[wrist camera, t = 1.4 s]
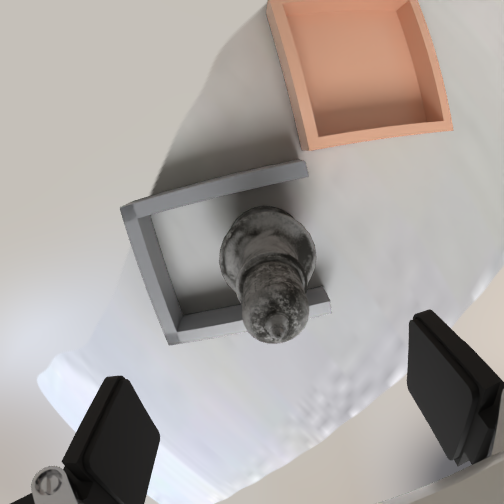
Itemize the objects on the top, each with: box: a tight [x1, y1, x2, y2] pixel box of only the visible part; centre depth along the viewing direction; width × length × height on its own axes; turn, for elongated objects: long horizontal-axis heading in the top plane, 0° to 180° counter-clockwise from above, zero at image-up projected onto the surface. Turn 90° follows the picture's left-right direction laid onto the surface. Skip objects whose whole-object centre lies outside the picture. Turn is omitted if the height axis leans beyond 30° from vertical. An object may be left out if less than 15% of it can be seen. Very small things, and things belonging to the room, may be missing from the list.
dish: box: [266, 0, 453, 151], centre depth 18 cm, size 10×10×3 cm
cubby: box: [120, 159, 332, 345], centre depth 22 cm, size 12×10×2 cm
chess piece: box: [219, 206, 316, 344], centre depth 17 cm, size 6×6×12 cm
